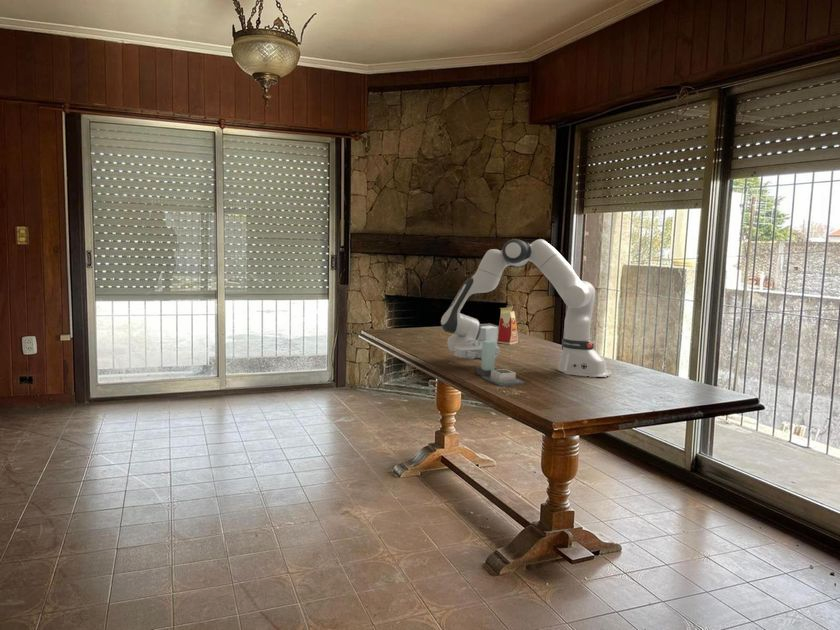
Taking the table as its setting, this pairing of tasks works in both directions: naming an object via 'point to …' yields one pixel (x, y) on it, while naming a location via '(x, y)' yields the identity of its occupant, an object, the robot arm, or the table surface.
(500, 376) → the port panel
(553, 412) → the table surface
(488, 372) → the holster
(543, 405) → the table surface
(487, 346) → the plug
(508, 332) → the milk carton
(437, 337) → the table surface
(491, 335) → the skincare box
